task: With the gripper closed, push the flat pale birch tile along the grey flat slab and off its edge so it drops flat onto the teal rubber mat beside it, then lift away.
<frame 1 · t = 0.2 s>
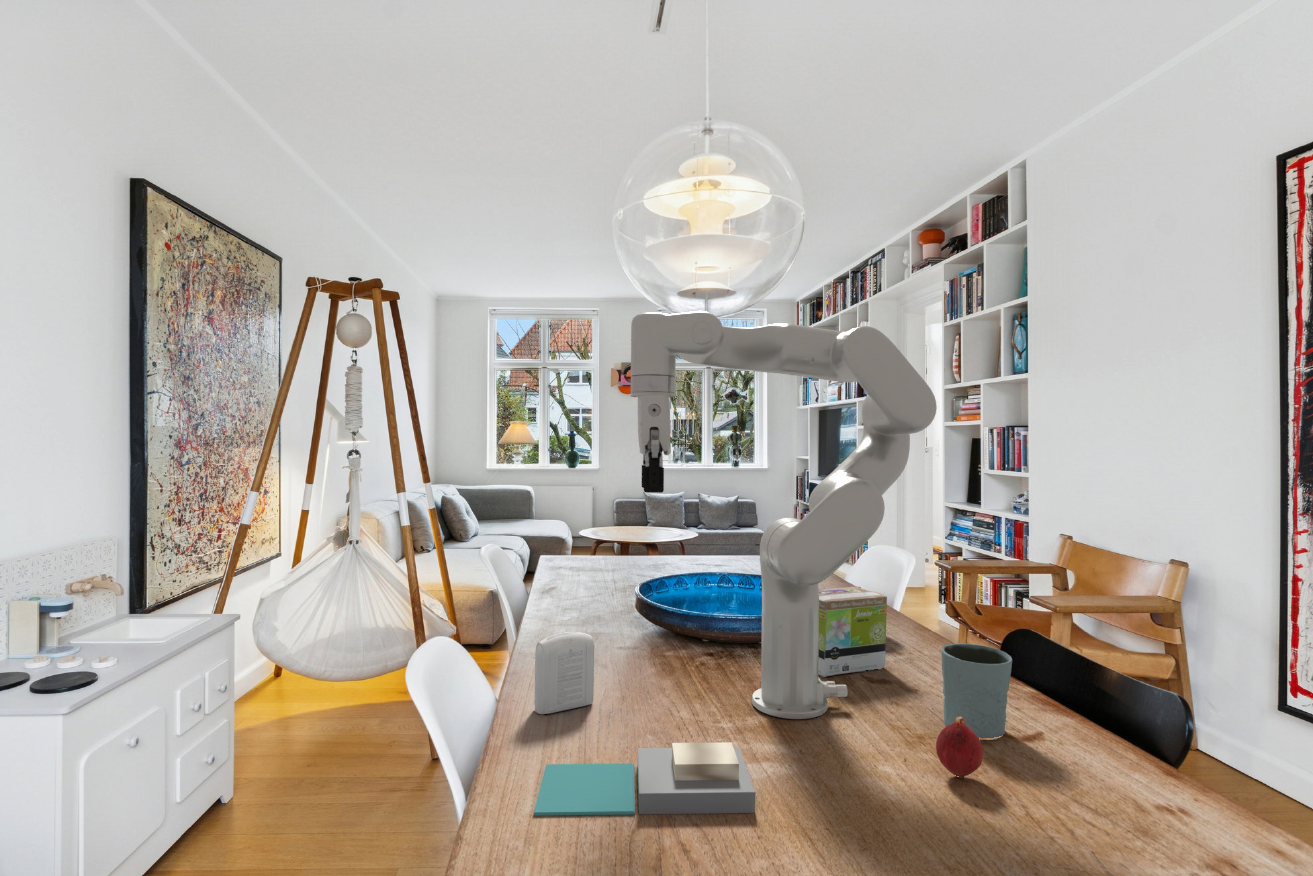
hand: (652, 490, 114), 36 cm above the table, tool pointing down, fingers open, 9 cm apart
onion: (959, 779, 91), on the table
blue ceramic planter: (975, 730, 107), on the table
teal mat: (587, 789, 87), on the table
birch tile: (704, 768, 88), point 2 cm above the table, touching grey flat slab
lidded bowl: (857, 635, 159), on the table
tea box: (840, 667, 136), on the table
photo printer: (564, 708, 114), on the table
grey flat slab: (692, 788, 88), on the table
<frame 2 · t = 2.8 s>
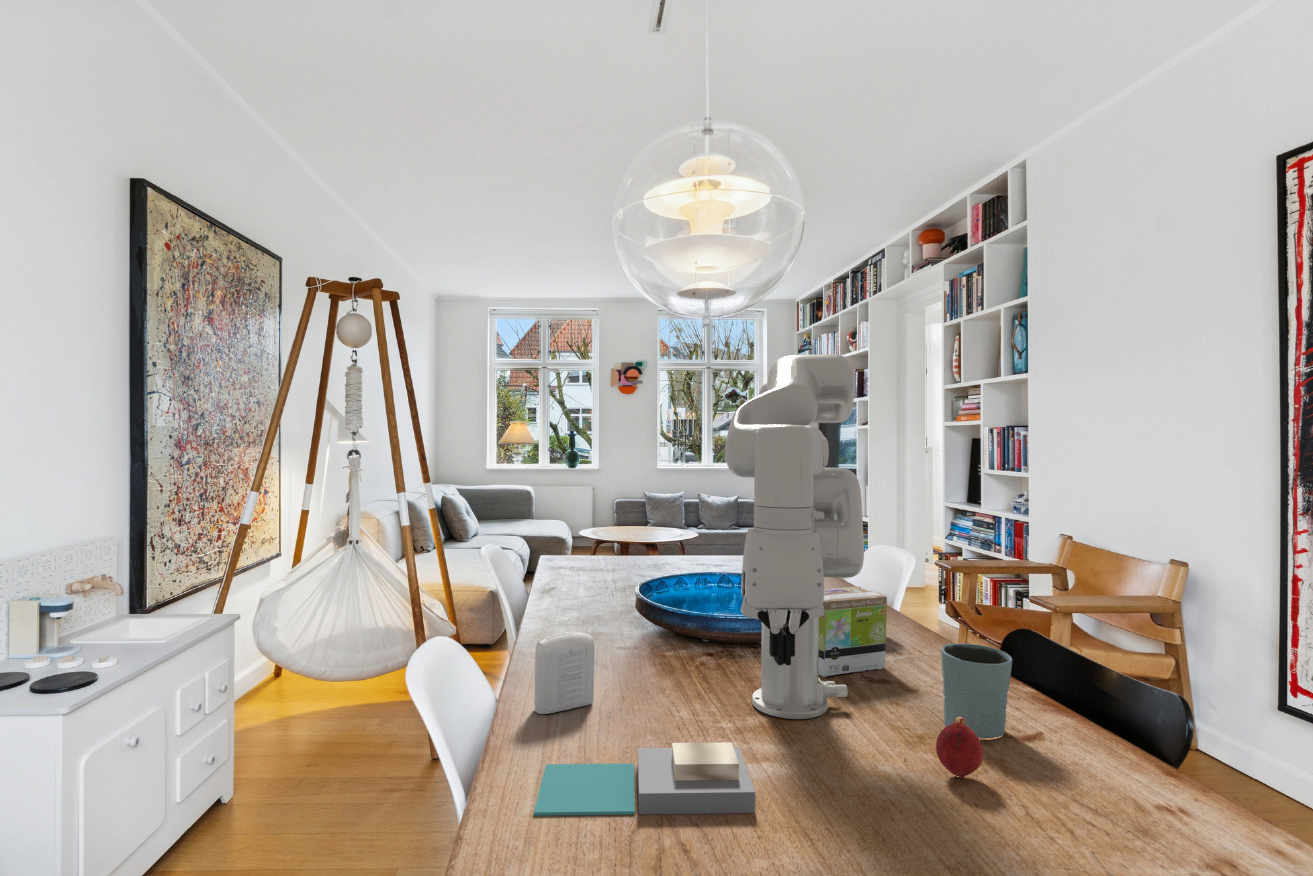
hand: (781, 661, 88), 16 cm above the table, tool pointing down, fingers closed
nothing on the table moved.
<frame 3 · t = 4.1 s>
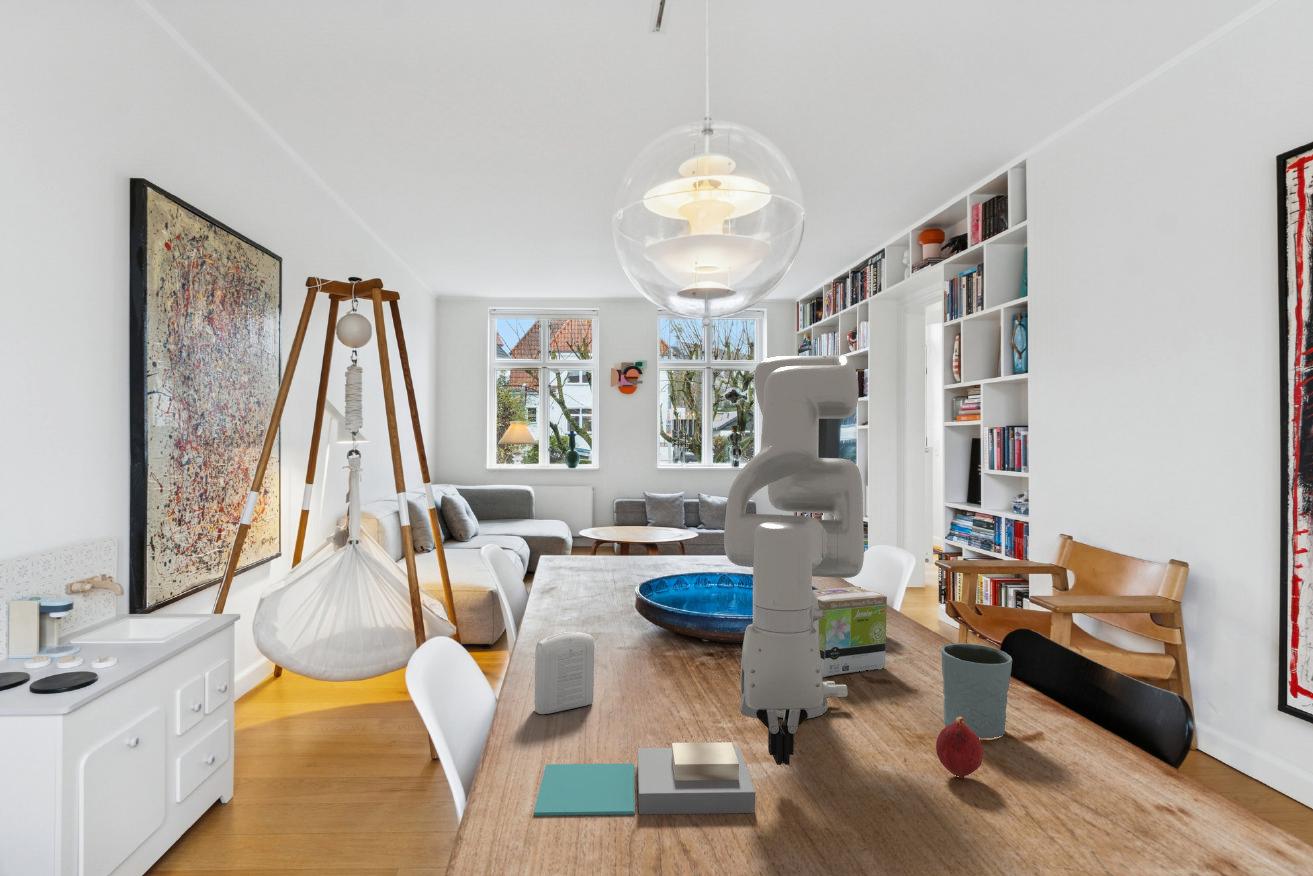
hand: (780, 759, 88), 4 cm above the table, tool pointing down, fingers closed
nothing on the table moved.
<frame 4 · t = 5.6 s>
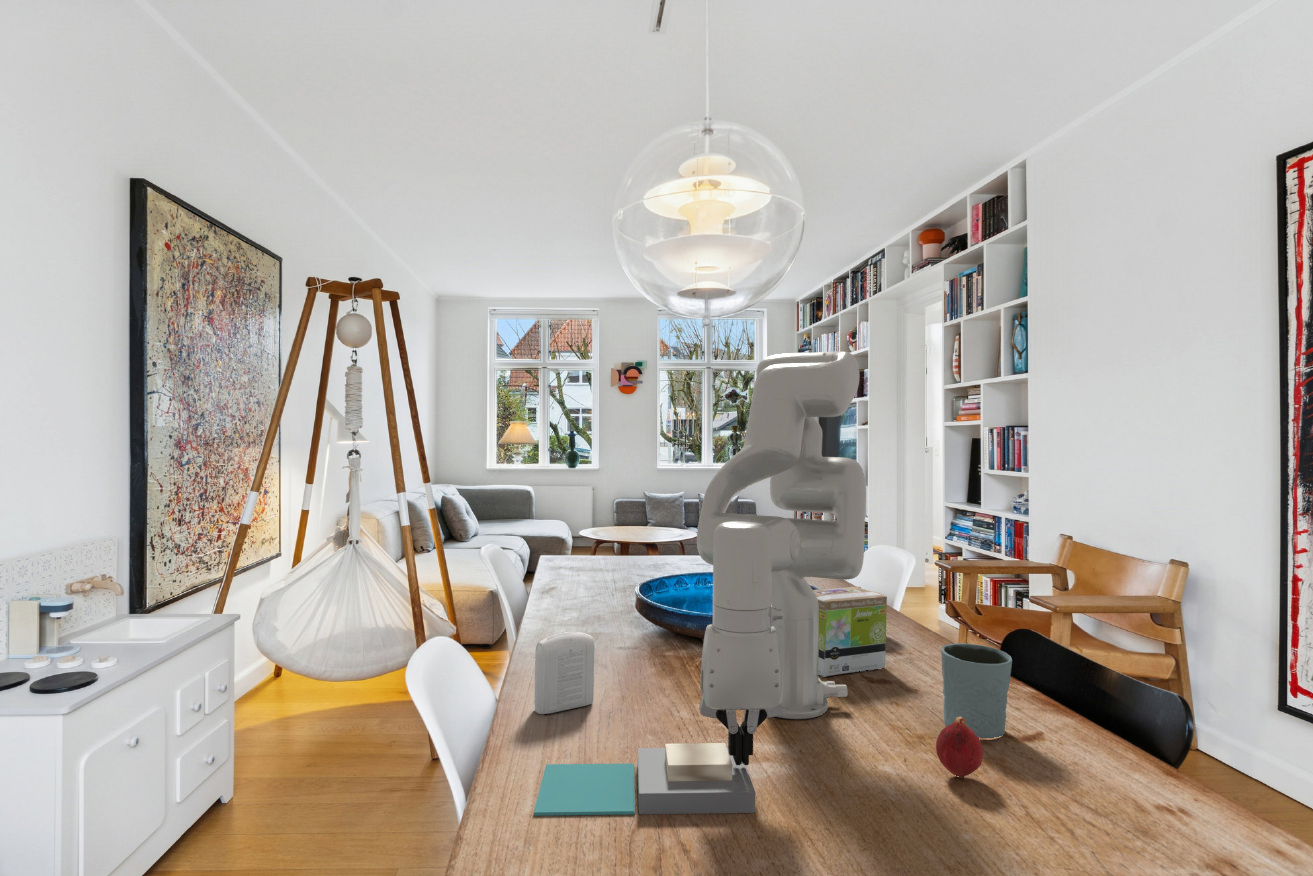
hand: (740, 760, 88), 4 cm above the table, tool pointing down, fingers closed
nothing on the table moved.
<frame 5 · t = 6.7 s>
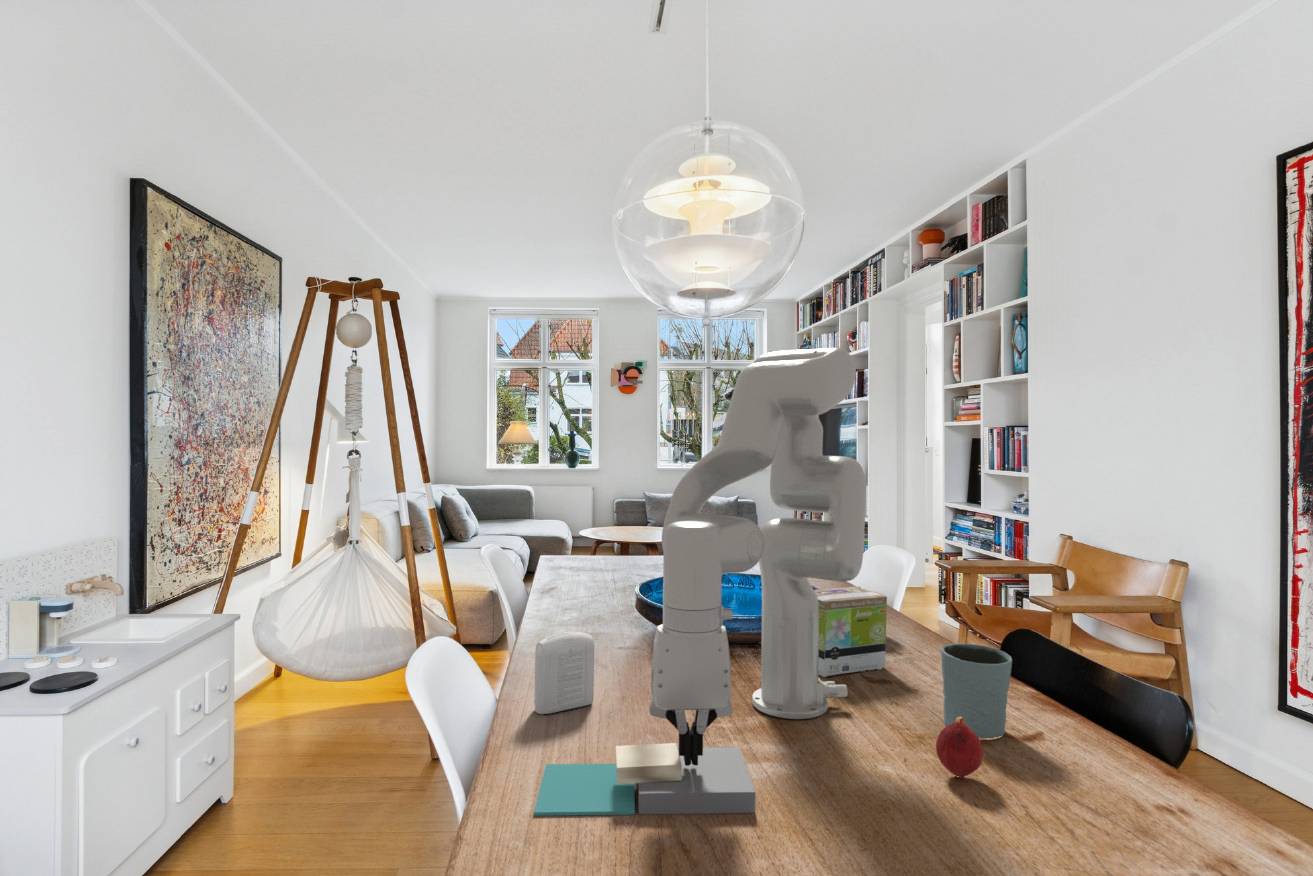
hand: (690, 760, 88), 4 cm above the table, tool pointing down, fingers closed
birch tile: (647, 770, 87), point 3 cm above the table, touching gripper
everything else where it was.
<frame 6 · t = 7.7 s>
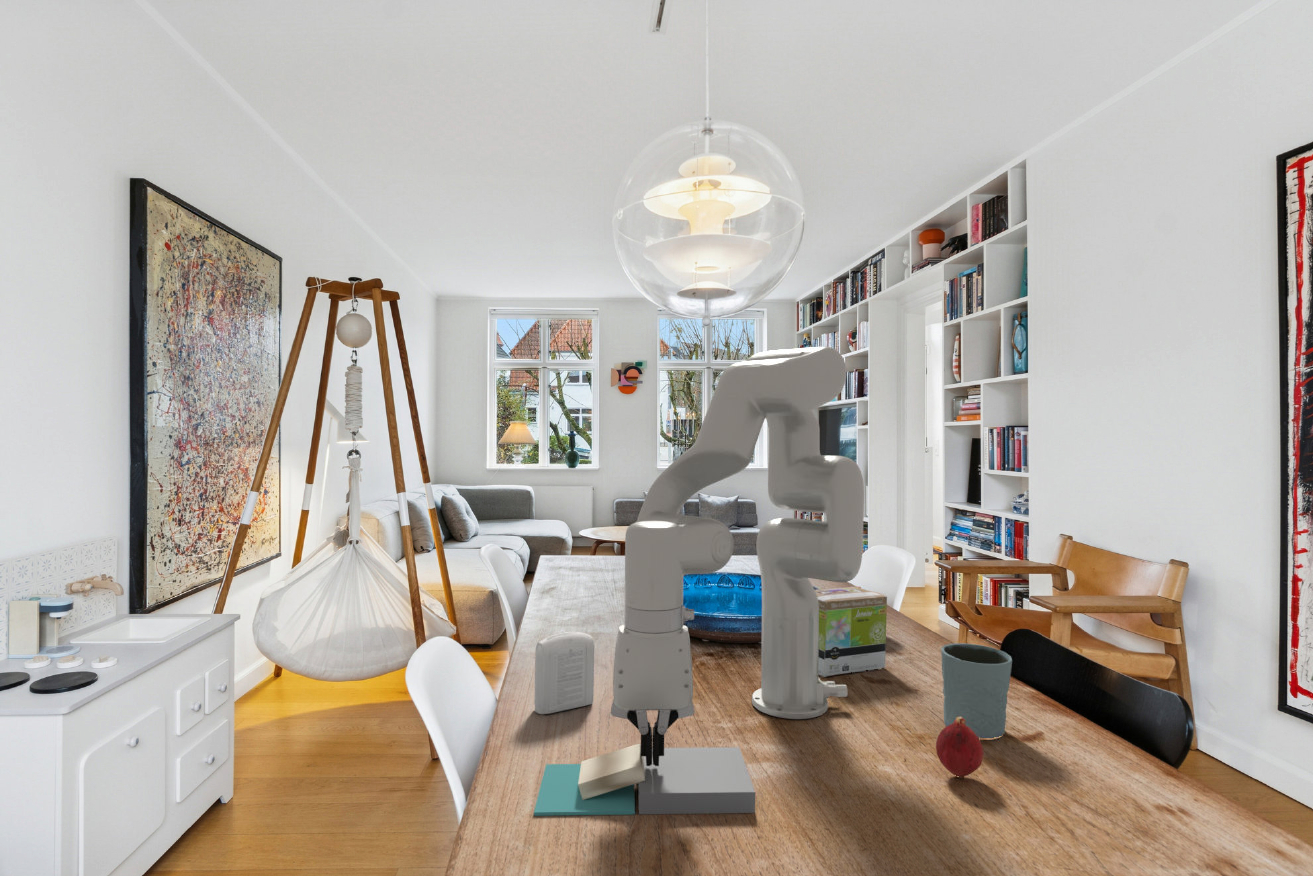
hand: (652, 761, 88), 4 cm above the table, tool pointing down, fingers closed
birch tile: (614, 778, 87), point 2 cm above the table, tilted 17°, touching gripper
everything else where it was.
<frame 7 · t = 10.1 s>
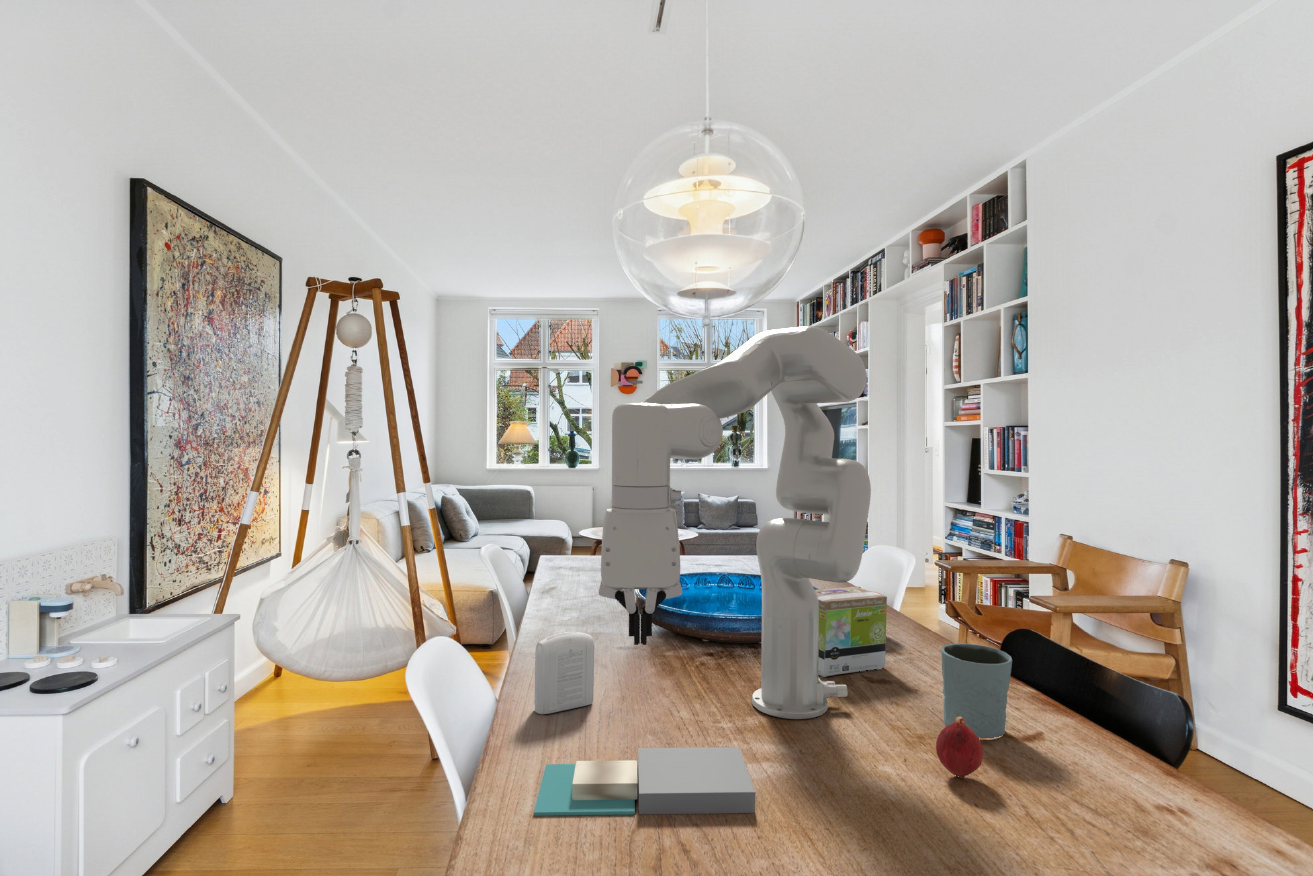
hand: (640, 641, 88), 19 cm above the table, tool pointing down, fingers closed
birch tile: (605, 787, 87), resting on teal mat
everything else where it was.
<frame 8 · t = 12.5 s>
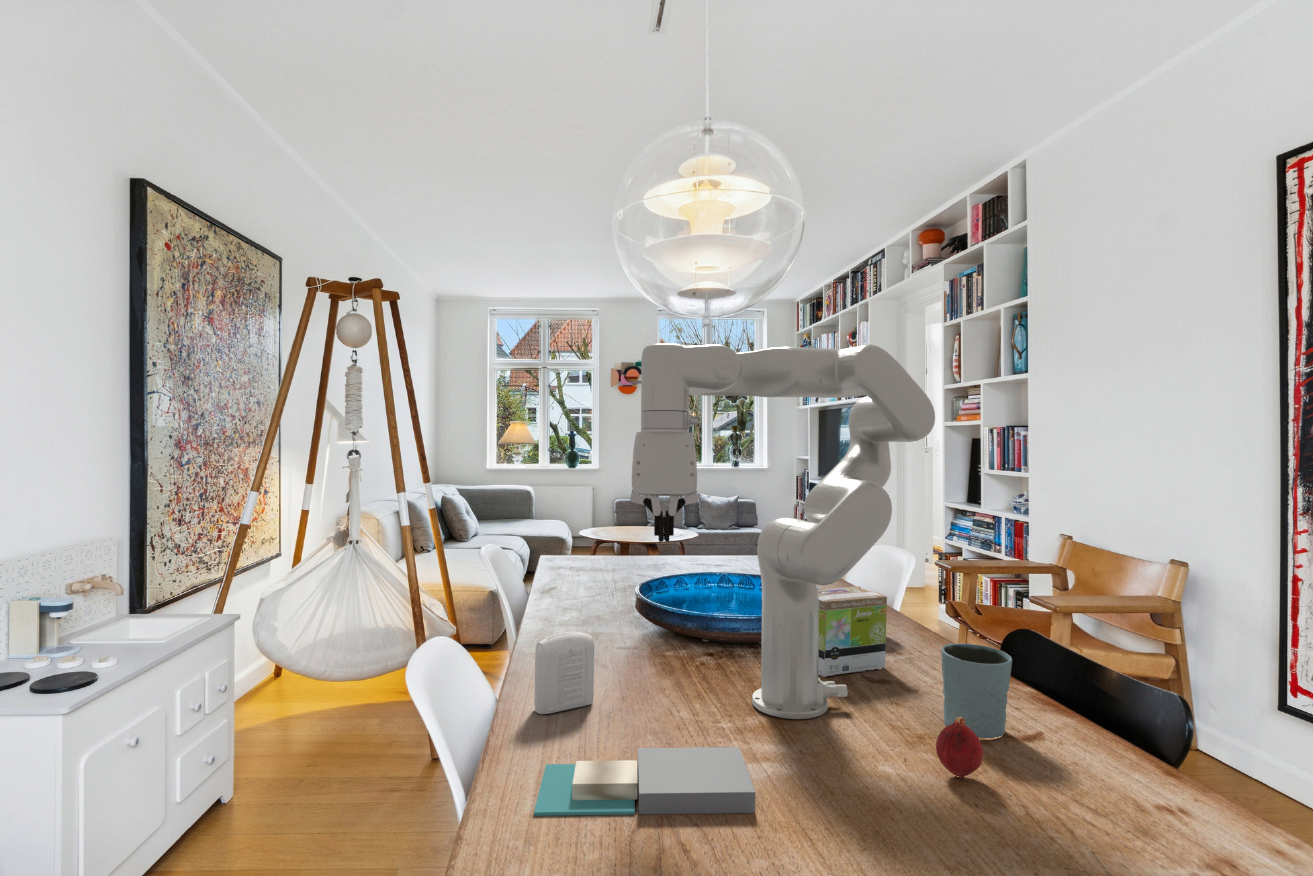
hand: (663, 540, 107), 29 cm above the table, tool pointing down, fingers closed
nothing on the table moved.
at the end: birch tile inside the target area (2.6 cm from its centre), resting on teal mat; birch tile tilted 0°; birch tile touching teal mat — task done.
